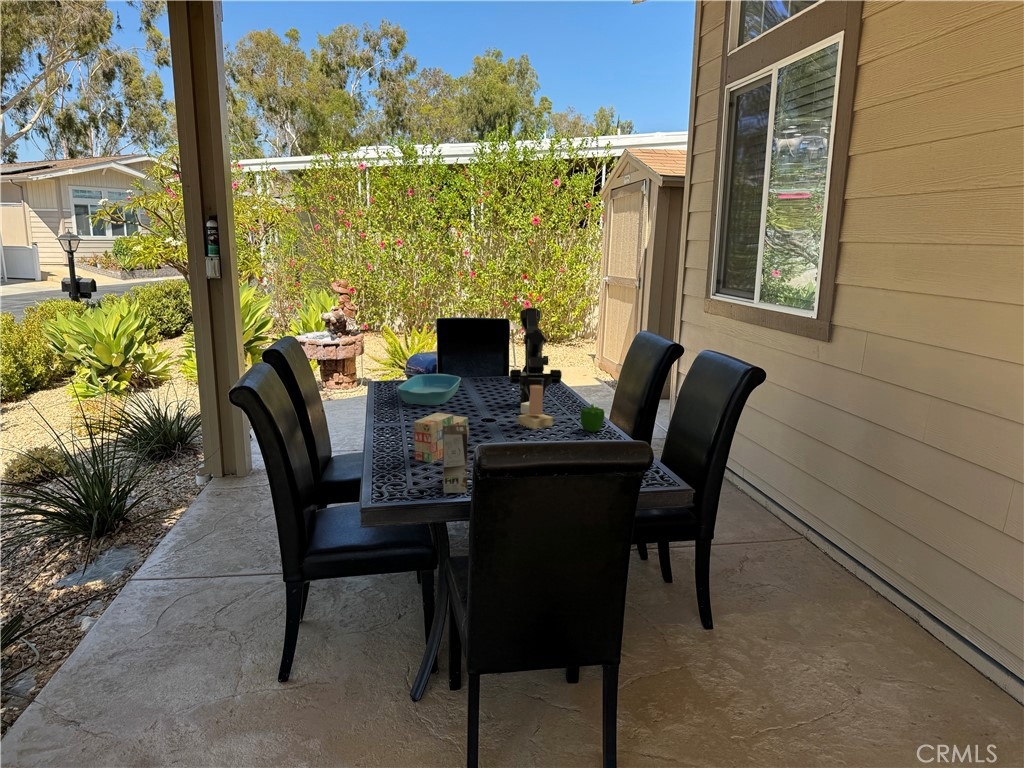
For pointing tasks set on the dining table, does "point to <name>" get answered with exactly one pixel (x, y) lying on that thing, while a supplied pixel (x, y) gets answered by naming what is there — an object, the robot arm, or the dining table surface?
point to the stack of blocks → (433, 435)
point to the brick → (525, 408)
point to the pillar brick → (536, 400)
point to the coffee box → (455, 458)
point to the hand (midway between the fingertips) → (536, 396)
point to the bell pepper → (592, 418)
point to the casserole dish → (429, 389)
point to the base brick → (535, 421)
